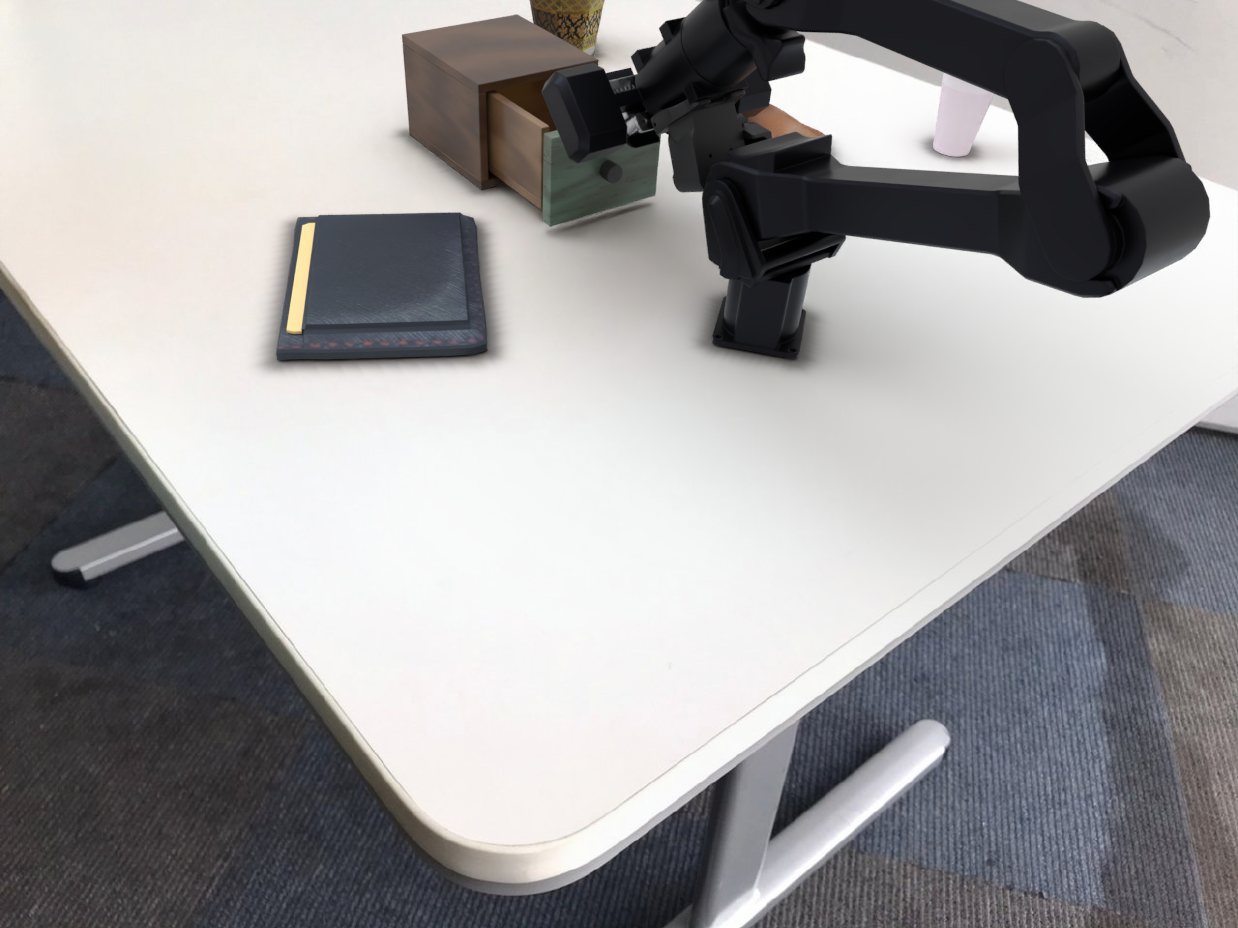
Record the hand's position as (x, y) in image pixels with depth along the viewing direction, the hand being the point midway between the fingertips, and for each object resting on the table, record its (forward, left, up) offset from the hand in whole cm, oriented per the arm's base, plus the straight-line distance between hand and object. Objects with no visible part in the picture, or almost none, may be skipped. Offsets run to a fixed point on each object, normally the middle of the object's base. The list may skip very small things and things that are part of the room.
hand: (611, 140), depth 84 cm
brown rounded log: (+15, -15, -8) cm, 23 cm away
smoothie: (+27, -30, -8) cm, 41 cm away
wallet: (-16, +14, -8) cm, 22 cm away
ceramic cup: (+39, +16, -8) cm, 43 cm away
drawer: (+4, +5, -7) cm, 9 cm away
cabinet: (+11, +13, -8) cm, 19 cm away
